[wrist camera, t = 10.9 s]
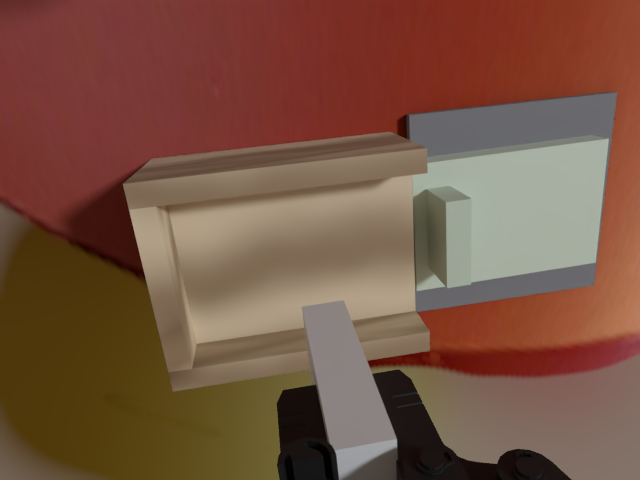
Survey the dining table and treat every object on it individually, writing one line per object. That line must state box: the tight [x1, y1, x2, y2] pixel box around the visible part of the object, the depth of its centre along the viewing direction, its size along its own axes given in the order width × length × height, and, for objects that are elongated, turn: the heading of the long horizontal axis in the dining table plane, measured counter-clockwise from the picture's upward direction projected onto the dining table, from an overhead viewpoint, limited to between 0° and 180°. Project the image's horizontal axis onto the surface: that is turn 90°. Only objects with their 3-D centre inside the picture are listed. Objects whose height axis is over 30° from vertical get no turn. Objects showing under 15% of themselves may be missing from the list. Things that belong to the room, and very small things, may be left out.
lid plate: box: [412, 135, 609, 291], centre depth 28 cm, size 8×12×5 cm, turn 96°
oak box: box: [123, 132, 430, 391], centre depth 27 cm, size 11×14×6 cm
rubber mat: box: [406, 92, 617, 312], centre depth 31 cm, size 13×13×1 cm
